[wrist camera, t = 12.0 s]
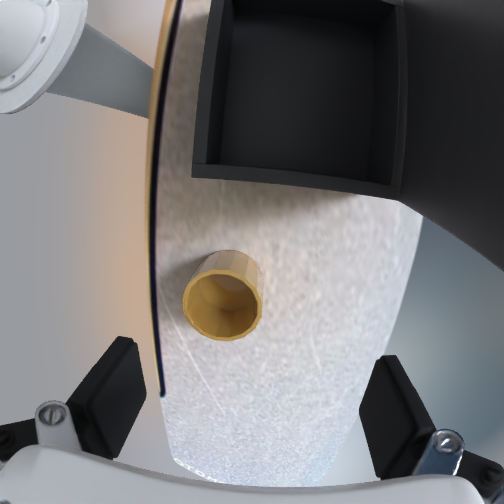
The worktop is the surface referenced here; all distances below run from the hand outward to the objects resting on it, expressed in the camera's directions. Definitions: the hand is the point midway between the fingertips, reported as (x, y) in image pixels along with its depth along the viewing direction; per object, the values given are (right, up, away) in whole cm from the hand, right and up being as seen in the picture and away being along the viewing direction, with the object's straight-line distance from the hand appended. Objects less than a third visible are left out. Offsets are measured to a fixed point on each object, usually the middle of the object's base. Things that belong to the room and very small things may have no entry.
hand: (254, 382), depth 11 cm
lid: (+8, +14, -2) cm, 16 cm away
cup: (-2, +2, +17) cm, 17 cm away
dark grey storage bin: (+4, +18, +11) cm, 22 cm away
